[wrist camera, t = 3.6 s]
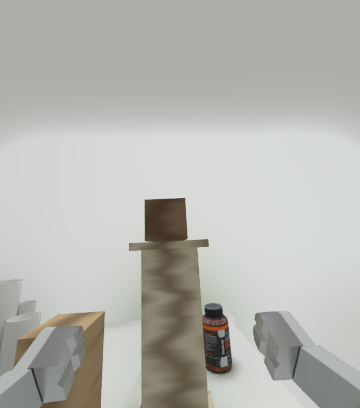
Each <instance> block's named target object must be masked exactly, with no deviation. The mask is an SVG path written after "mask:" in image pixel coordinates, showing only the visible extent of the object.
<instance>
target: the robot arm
mask: <svg viewBox="0 0 360 408" xmlns="http://www.w3.org/2000/svg"><path fill="white" fill-rule="evenodd" d="M255 321H256V325H255V326H254V328H253V334H254V340H255V343H256V345H257V347H258V350H259V351H260V352H261V353H262V354H263V355H265V360H264V362H265V365H266V367H267V369H268V371H269V373H270V375H271V377H272V379H273V380H290V379H293V381H294V382H295V383H296V384H297V385H298V386H299V387H300V388H301V389H302V390H303V391H304V392H305V393H306V394H307V395H308V396H309V397H310V398H311V399H312V400H313V401H314V402H315V403H316V404H317V405H318V406H319V407H320V408H360V372H359V371H358V370H356V369H355V368H353V367H351V366H350V365H348V364H347V363H345V362H344V361H342V360H341V359H339V358H338V357H336V356H335V355H333V354H332V353H330V352H329V351H327V350H326V349H324V348H323V347H321V346H320V345H315V344H314V342H313V341H312V340H311V338H310V337H309V336H308V335H307V333H306V332H305V331H304V330H303V328H302V327H301V326H300V325H299V323H298V322H297V321H296V320H295V319H294V317H293V316H292V315H291V313H290V312H288V311H278V312H263V313H256V315H255ZM83 332H84V331H83V327H82V326H58V327H46V328H44V329H43V330H42V331H41V332H40V333H39V335H38V336H37V337H36V339H35V340H34V341H33V343H32V344H31V345H30V347H29V348H28V350H27V351H26V352H25V354H24V355H23V356H22V358H21V359H20V360H19V362H18V363H17V364H16V366H15V367H14V368H13V370H12V371H7V372H6V373H5V374H3V375H2V376H1V377H0V408H40V407H41V406H42V403H47V402H55V401H62V400H66V399H67V396H68V394H69V392H70V389H71V387H72V384H73V382H74V380H75V375H74V372H75V371H76V370H77V369H78V368H79V367H80V366H81V363H82V361H83V358H84V354H85V350H86V341H85V338H83V337H82V334H83Z"/></svg>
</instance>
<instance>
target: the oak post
mask: <svg viewBox="0 0 360 408" xmlns="http://www.w3.org/2000/svg"><path fill="white" fill-rule="evenodd" d="M104 316H105V312H88V313H74V314H60V315H57V316H55V317H53V318H52V319H50V320H48V321H47V322H45V323H44V324H42V325H40V326H39V327H37V328H35V329H34V330H32V331H30V332H29V333H27V334H25V335H24V336H22V337H20V338H19V339H18V340H17V347H16V354H15V362H14V367H15V366H16V364H17V363H18V362H19V360H20V359H21V358H22V356H23V355H24V354H25V352H26V351H27V350H28V348H29V347H30V345H31V344H32V343H33V341H34V340H35V339H36V337H37V336H38V335H39V333H40V332H41V331H42V330H43V329H44V328H46V327H58V326H82V327H83V331H84V332H83V334H82V337H83V338H85V341H86V350H85V354H84V358H83V361H82V363H81V366H80V367H79V368H78V369H77V370H76V371H75V372H74V375H75V380H74V382H73V384H72V387H71V389H70V392H69V394H68V396H67V399H66V400H62V401H55V402H47V403H42V406H41V407H40V408H101V386H102V363H103V340H104Z"/></svg>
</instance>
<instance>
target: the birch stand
mask: <svg viewBox="0 0 360 408" xmlns="http://www.w3.org/2000/svg"><path fill="white" fill-rule="evenodd" d="M208 246H209V244H208V239H205V240H187V241H186V240H185V241H166V242H147V243H130V244H129V251H137V250H141V254H142V255H141V259H142V260H141V265H142V266H141V270H142V274H141V275H142V276H141V278H142V284H141V285H142V286H141V287H142V403H141V408H214V407H213V403H212V399H211V395H210V391H207V378H206V364H205V350H204V336H203V322H202V308H201V294H200V280H199V266H198V252H197V247H208Z"/></svg>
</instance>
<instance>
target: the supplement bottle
mask: <svg viewBox="0 0 360 408" xmlns="http://www.w3.org/2000/svg"><path fill="white" fill-rule="evenodd" d="M205 313H206V314H205V315H203V317H202V322H203V336H204V350H205V364H206V366H207V368H209V369H210V370H212V371H215V372H225V371H227V370H229V369H230V367H231V365H232V358H231V348H230V338H229V327H228V320H227V318H226V316H224V315H223V311H222V306H221V305H220V304H215V303H211V304H207V305H205Z"/></svg>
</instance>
